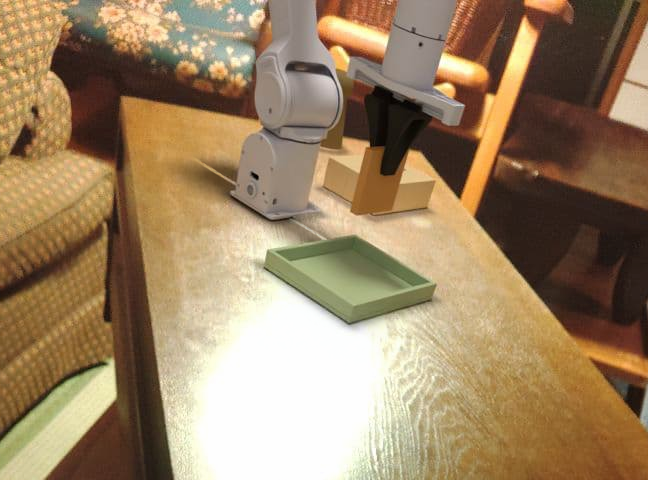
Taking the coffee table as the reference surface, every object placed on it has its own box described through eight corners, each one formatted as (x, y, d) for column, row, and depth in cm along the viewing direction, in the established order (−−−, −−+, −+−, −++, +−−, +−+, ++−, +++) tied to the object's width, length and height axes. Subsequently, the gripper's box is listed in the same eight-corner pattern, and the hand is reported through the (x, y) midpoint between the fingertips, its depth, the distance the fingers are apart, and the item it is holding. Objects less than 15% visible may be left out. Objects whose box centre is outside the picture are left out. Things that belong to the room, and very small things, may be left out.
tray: (349, 323, 78) (354, 305, 76) (263, 266, 83) (266, 249, 81) (431, 299, 88) (437, 283, 86) (351, 250, 93) (355, 234, 91)
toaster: (372, 219, 103) (381, 185, 100) (321, 189, 106) (328, 156, 104) (429, 210, 112) (439, 179, 109) (380, 183, 116) (388, 152, 113)
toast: (356, 215, 84) (373, 150, 80) (349, 211, 85) (365, 146, 80) (392, 210, 89) (409, 148, 84) (385, 206, 89) (402, 145, 85)
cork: (337, 155, 121) (354, 79, 113) (302, 143, 121) (317, 66, 113) (344, 147, 125) (361, 73, 118) (310, 135, 125) (325, 61, 118)
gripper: (496, 57, 75) (451, 194, 84) (389, 12, 80) (357, 145, 89) (459, 54, 70) (414, 199, 79) (347, 6, 76) (318, 147, 85)
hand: (381, 171), depth 84 cm, fingers closed on toast, 1 cm apart
